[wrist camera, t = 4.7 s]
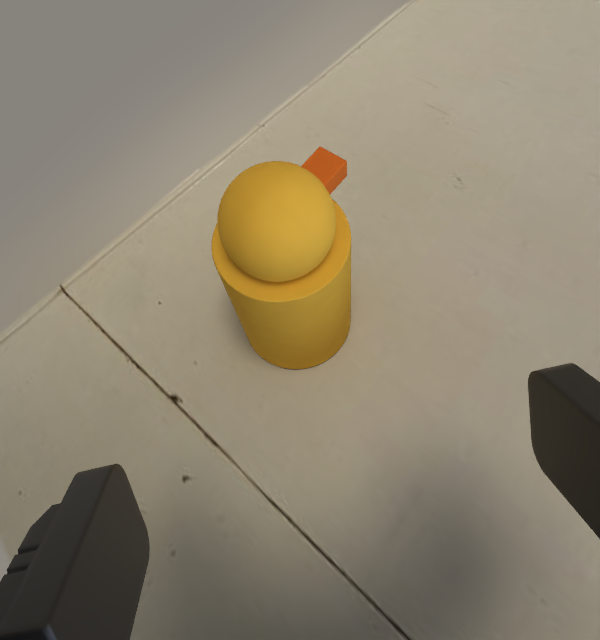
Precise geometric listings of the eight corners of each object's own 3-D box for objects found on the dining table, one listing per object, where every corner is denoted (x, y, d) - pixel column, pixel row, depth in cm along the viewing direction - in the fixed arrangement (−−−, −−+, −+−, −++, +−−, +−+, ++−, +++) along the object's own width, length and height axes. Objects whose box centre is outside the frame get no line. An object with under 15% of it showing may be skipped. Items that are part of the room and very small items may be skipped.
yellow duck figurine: (306, 390, 24) (280, 286, 15) (224, 330, 26) (155, 201, 16) (380, 298, 26) (397, 152, 16) (298, 246, 27) (272, 87, 18)
